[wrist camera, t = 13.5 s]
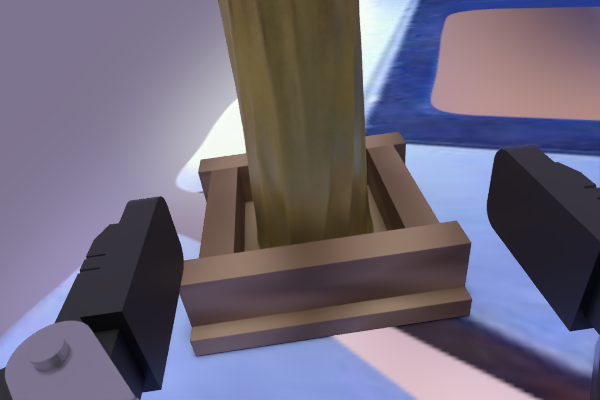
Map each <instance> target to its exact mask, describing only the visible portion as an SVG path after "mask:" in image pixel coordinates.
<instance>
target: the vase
mask: <svg viewBox="0 0 600 400" xmlns="http://www.w3.org/2000/svg"><path fill="white" fill-rule="evenodd" d="M218 3H219V7H220V12H221V17H222V21H223V26H224V31H225V37H226V42H227V46H228V52H229V57H230V62H231V67H232V71H233V75H234V81H235V86H236V91H237V97H238V103H239V108H240V115H241V121H242V125H243V131H244V138H245V146H246V154H247V161H248V169H249V177H250V184H251V191H252V197H253V203H254V209H255V215H256V223H257V241H258V244H259V247H260V248H261V249H267V248H274V247H281V246H287V245H294V244H301V243H308V242H315V241H322V240H329V239H335V238H342V237H349V236H356V235H363V234H370V233H373V230H374V227H373V221H372V217H371V213H370V208H369V199H368V188H367V166H366V140H365V116H364V95H363V72H362V48H361V32H360V17H359V0H218Z"/></svg>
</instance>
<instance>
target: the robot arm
mask: <svg viewBox="0 0 600 400" xmlns="http://www.w3.org/2000/svg"><path fill="white" fill-rule="evenodd" d="M487 214H488V218H489V221H490V224H491V226H492V228H493V229H494V230H495V232H496V233H497V234H498V236H499V237H500V238H501V240H502V241H503V242H504V244H505V245H506V247H507V248H508V249H509V251H510V252H511V253H512V255H513V256H514V257H515V259H516V260H517V261H518V263H519V264H520V265H521V267H522V268H523V269H524V271H525V272H526V273H527V275H528V276H529V277H530V279H531V280H532V281H533V283H534V284H535V285H536V287H537V288H538V290H539V291H540V292H541V294H542V295H543V296H544V298H545V299H546V300H547V302H548V303H549V304H550V306H551V307H552V308H553V310H554V311H555V312H556V314H557V315H558V316H559V318H560V319H561V320H562V322H563V323H564V324H565V326H566V327H567V328H568V330H569V331H576V330H583V329H589V328H594V329H595V330H596V331H597V332H598V334H599V335H600V188H596V185H595V184H594V183H593V182H592V181H591V180H589V179H588V178H587V177H586V176H584V175H583V174H582V173H581V172H579V171H577V170H574V169H572V168H570V167H568V166H565V165H563V164H561V163H559V162H554V161H553V160H551V159H550V158H549V157H548V156H547V155H545V154H544V153H543V152H542V151H541V150H540V149H538V148H537V147H536V146H534V145H528V146H521V147H514V148H507V149H501V150H499V151H498V152H497V153H496V155H495V158H494V163H493V169H492V175H491V181H490V187H489V194H488V200H487ZM86 258H87V259H86V260H84V262H83V264H82V266H81V268H80V274H78V275H77V277H76V279H75V281H74V283H73V285H72V287H71V290H70V292H69V294H68V296H67V298H66V300H65V302H64V304H63V306H62V309H61V311H60V313H59V315H58V317H57V319H56V321H55V323H54V324H52V325H49V326H47V327H45V328H43V329H41V330H39V331H37V332H36V333H34V334H33V335H31V336H30V337H29V338H27V339H26V340H25V341H24V342H23V343H22V344H21V345H20V346H19V347H18V348H17V349H16V350H15V351H14V353H13V354H12V356H11V357H10V359H9V361H8V363H7V365H6V367H5V368H3V369H1V370H0V400H140V399H141V395H142V392H149V391H156V390H161V388H162V382H163V377H164V372H165V366H166V361H167V356H168V350H169V345H170V340H171V334H172V329H173V324H174V318H175V313H176V308H177V302H178V297H179V292H180V286H181V281H182V276H183V270H184V259H183V252H182V247H181V244H180V241H179V238H178V235H177V232H176V230H175V226H174V224H173V221H172V218H171V215H170V212H169V209H168V206H167V203H166V201H165V200H164V198H163V197H161V196H160V197H153V198H146V199H139V200H131V201H129V202H128V203H127V205H126V208H125V210H124V212H123V215H122V217H121V220H120V222H119V223H118V224H111V225H109V226H108V227H107V228H106V229H105V230H104V231H103V232H102V233H101V234H100V235H98V236H97V237H96V238H95V239H94V241H93V243H92V245H91V247H90V249H89V251H88V254H87V256H86ZM590 400H600V336H599V338H598V340H597V342H596V346H595V354H594V364H593V373H592V383H591V392H590Z"/></svg>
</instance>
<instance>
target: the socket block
mask: <svg viewBox="0 0 600 400" xmlns="http://www.w3.org/2000/svg"><path fill="white" fill-rule="evenodd" d="M365 140H366V166H367V188H368V199H369V208H370V213H371V217H372V221H373V227H374V230H373V233H370V234H363V235H356V236H349V237H342V238H335V239H329V240H322V241H315V242H308V243H301V244H294V245H287V246H281V247H274V248H267V249H261V248H260V247H259V244H258V241H257V223H256V215H255V209H254V203H253V197H252V191H251V184H250V177H249V169H248V161H247V154H246V153H245V154H238V155H231V156H224V157H217V158H210V159H203V160H201V161H200V166H199V171H198V173H199V177H200V180H201V184H202V188H203V191H204V195H205V198H206V202H207V205H206V212H205V219H204V226H203V233H202V240H201V247H200V254H199V258H198V259H192V260H185V261H184V270H183V276H182V281H181V286H180V292H179V294H180V296H181V299H182V302H183V304H184V307H185V310H186V312H187V315H188V318H189V320H190V323H191V326H192V331H191V338H190V342H191V345H192V347H193V350H194V353H195V355H196V356H200V355H206V354H213V353H220V352H226V351H233V350H240V349H246V348H253V347H260V346H266V345H273V344H280V343H286V342H293V341H300V340H306V339H313V338H320V337H326V336H333V335H340V334H346V333H353V332H360V331H366V330H373V329H379V328H386V327H393V326H400V325H406V324H413V323H420V322H426V321H433V320H440V319H446V318H453V317H460V316H466V315H469V314H470V308H471V302H472V298H471V297H470V295H469V293H468V291H467V289H466V288H465V282H466V275H467V269H468V262H469V255H470V248H471V242H470V240H469V239H468V237H467V236H466V234H465V232H464V231H463V229H462V228H461V226H460V225H459V223H458V222H457V221H452V222H445V223H439V221H438V219H437V218H436V216H435V214H434V213H433V211H432V209H431V208H430V206H429V204H428V203H427V201H426V199H425V198H424V196H423V194H422V193H421V191H420V189H419V188H418V186H417V184H416V183H415V181H414V179H413V178H412V176H411V174H410V173H409V171H408V169H407V168H406V166H405V151H406V143H405V141H404V140H403V138H402V136H401V135H400V133H399V132H393V133H386V134H379V135H372V136H365Z"/></svg>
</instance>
